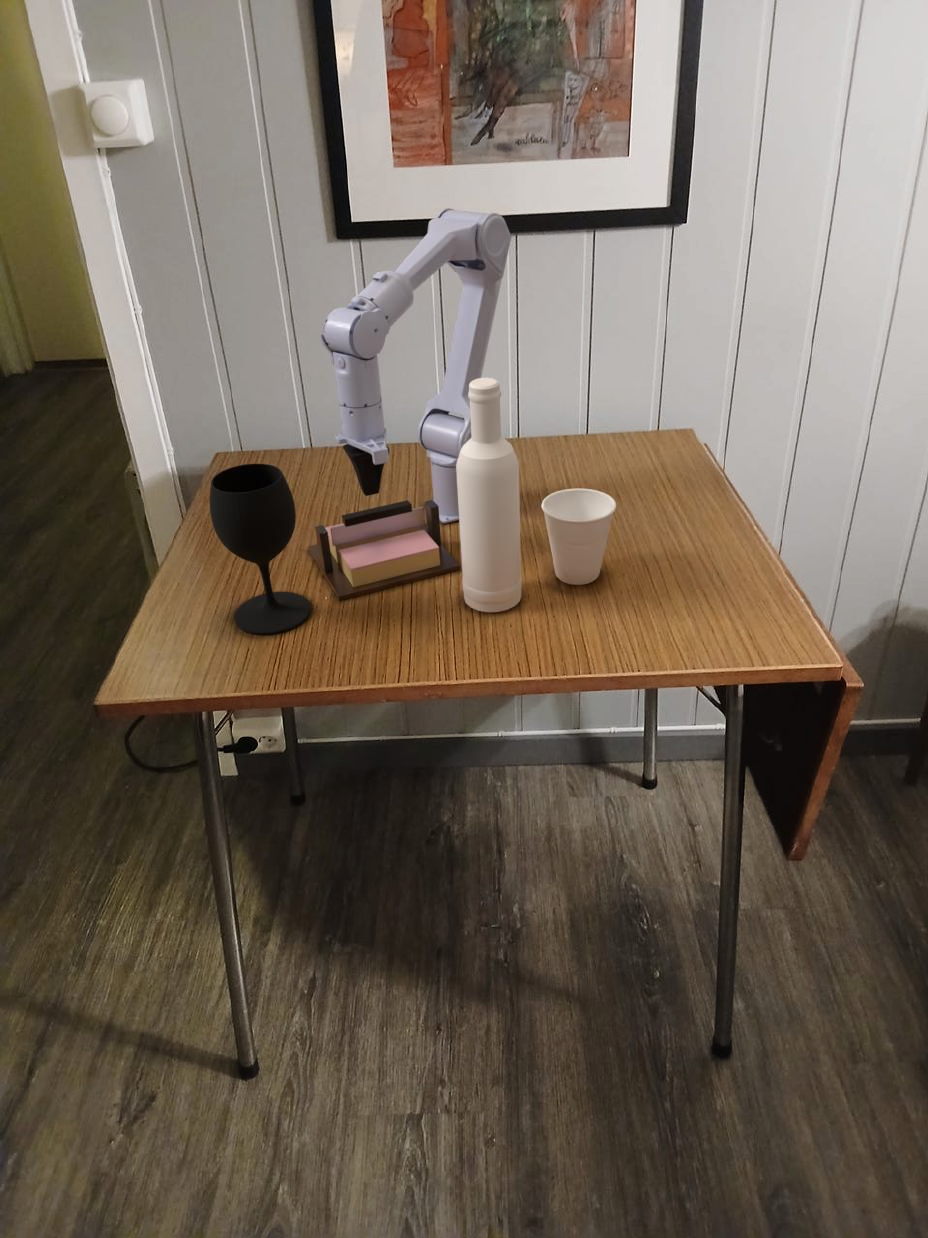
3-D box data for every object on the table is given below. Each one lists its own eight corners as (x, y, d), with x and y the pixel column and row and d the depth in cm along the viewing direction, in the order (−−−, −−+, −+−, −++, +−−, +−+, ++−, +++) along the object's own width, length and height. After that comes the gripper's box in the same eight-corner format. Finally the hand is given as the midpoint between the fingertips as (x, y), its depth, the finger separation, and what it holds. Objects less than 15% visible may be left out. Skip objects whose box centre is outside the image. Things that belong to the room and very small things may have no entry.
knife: (422, 521, 137) (420, 496, 134) (426, 525, 135) (424, 501, 133) (331, 543, 132) (327, 518, 130) (334, 548, 131) (330, 522, 129)
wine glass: (276, 643, 119) (248, 502, 108) (217, 622, 124) (185, 486, 113) (327, 605, 126) (306, 469, 115) (270, 587, 131) (244, 455, 120)
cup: (566, 601, 124) (567, 528, 118) (528, 569, 132) (527, 499, 126) (627, 580, 128) (631, 508, 122) (586, 551, 135) (588, 481, 129)
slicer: (420, 524, 145) (416, 481, 141) (460, 569, 133) (457, 525, 129) (308, 550, 140) (301, 507, 136) (339, 601, 127) (332, 555, 123)
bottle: (527, 609, 123) (524, 389, 107) (469, 617, 122) (456, 396, 106) (514, 579, 130) (509, 368, 113) (459, 586, 129) (446, 374, 112)
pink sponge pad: (407, 526, 143) (405, 508, 141) (440, 565, 132) (439, 547, 131) (326, 545, 139) (323, 527, 137) (353, 587, 128) (350, 568, 127)
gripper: (317, 389, 129) (329, 479, 137) (347, 423, 118) (359, 519, 125) (365, 381, 131) (375, 469, 139) (399, 413, 120) (408, 508, 127)
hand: (370, 492), depth 132 cm, fingers closed
